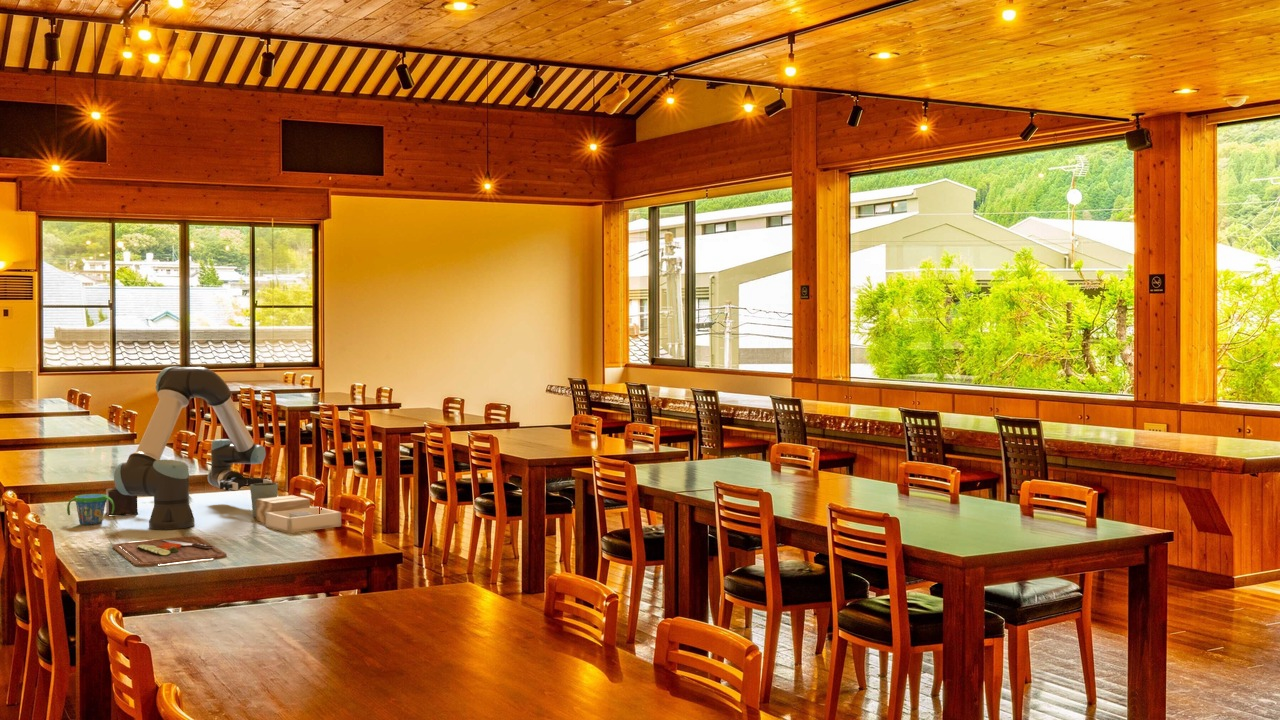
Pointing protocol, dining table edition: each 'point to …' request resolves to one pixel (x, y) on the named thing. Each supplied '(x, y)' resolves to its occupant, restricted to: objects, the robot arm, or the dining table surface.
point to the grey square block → (299, 514)
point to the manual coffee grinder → (120, 503)
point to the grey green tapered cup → (262, 493)
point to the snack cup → (90, 508)
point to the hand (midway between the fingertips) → (254, 485)
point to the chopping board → (169, 551)
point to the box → (303, 520)
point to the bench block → (279, 505)
